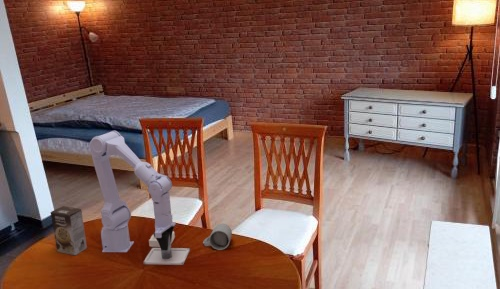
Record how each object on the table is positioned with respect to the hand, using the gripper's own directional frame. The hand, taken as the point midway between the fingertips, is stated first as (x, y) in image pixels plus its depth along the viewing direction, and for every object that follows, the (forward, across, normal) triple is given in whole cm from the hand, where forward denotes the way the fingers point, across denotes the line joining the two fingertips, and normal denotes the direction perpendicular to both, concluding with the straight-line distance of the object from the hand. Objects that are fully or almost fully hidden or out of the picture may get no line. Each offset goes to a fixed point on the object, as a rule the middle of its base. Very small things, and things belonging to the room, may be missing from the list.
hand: (166, 247), depth 157 cm
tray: (+4, 0, 0) cm, 4 cm away
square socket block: (+4, +11, +5) cm, 13 cm away
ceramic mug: (+5, +10, -16) cm, 20 cm away
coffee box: (+5, +5, +38) cm, 39 cm away
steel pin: (+4, 0, 0) cm, 4 cm away
